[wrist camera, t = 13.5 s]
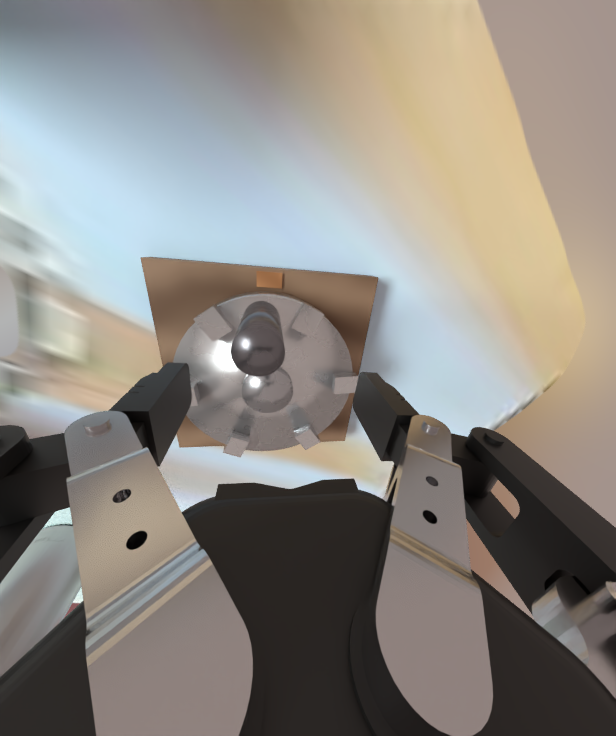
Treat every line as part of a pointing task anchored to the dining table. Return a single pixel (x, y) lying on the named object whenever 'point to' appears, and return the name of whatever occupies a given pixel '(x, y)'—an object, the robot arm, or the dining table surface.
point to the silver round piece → (265, 372)
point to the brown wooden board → (221, 281)
